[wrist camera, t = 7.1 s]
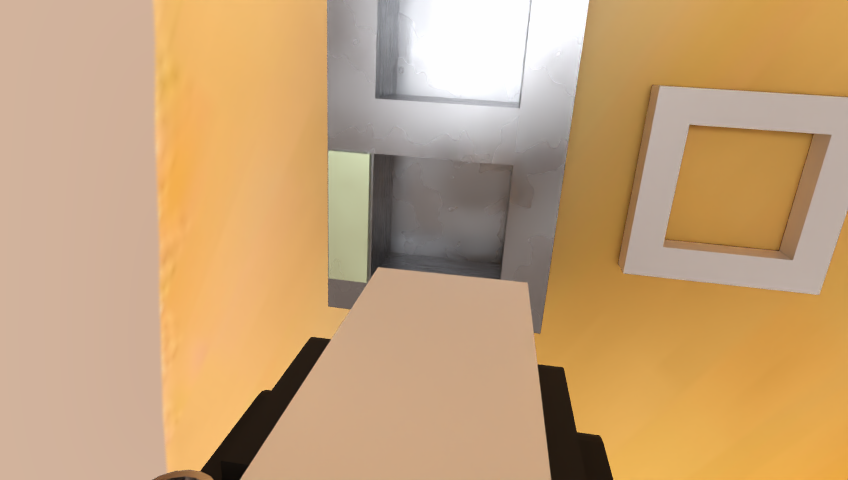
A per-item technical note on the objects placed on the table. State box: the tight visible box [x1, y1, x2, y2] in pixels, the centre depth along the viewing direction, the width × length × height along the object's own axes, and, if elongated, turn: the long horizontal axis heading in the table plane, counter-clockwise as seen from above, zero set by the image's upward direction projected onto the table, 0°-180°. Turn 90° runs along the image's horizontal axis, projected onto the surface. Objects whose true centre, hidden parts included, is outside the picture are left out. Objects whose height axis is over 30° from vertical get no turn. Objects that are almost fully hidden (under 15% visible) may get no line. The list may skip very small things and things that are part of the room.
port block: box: [327, 0, 589, 333], centre depth 26 cm, size 11×19×6 cm, turn 177°
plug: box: [240, 267, 551, 480], centre depth 10 cm, size 4×4×9 cm
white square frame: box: [618, 85, 848, 295], centre depth 27 cm, size 10×10×2 cm
